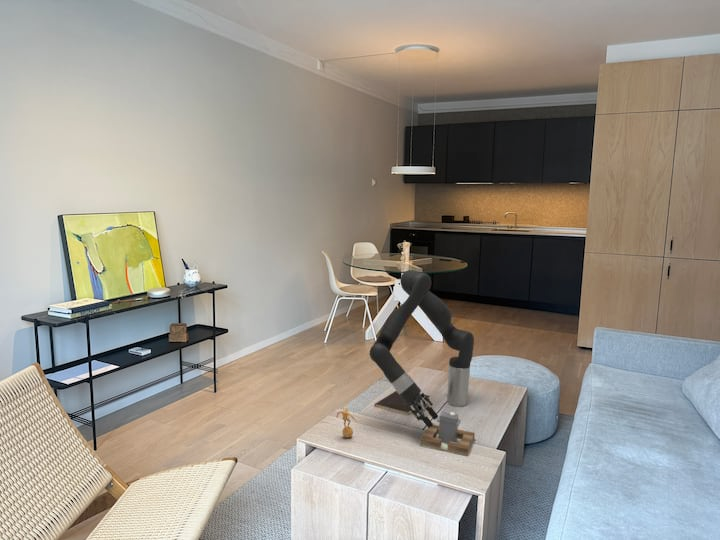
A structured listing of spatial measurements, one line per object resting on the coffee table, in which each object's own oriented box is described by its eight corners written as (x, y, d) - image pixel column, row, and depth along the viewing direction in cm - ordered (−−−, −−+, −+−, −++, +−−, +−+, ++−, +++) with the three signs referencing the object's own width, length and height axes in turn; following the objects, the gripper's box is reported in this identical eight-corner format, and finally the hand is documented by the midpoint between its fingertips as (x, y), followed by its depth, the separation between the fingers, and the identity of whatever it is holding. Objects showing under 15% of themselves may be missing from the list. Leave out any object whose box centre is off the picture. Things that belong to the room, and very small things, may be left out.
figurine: (359, 437, 191) (361, 406, 189) (352, 443, 185) (353, 412, 184) (340, 432, 194) (341, 402, 193) (332, 438, 189) (333, 407, 188)
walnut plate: (430, 430, 200) (430, 423, 200) (474, 439, 194) (474, 432, 193) (420, 445, 186) (420, 439, 186) (466, 456, 180) (467, 449, 180)
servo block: (438, 436, 193) (440, 408, 192) (459, 440, 190) (461, 412, 189) (435, 441, 189) (437, 412, 188) (457, 445, 186) (459, 416, 185)
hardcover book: (429, 400, 233) (430, 395, 233) (407, 416, 214) (407, 411, 213) (398, 393, 241) (398, 388, 241) (374, 408, 222) (374, 402, 222)
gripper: (407, 387, 186) (436, 423, 183) (418, 376, 199) (445, 410, 196) (393, 399, 189) (421, 435, 186) (404, 387, 202) (431, 420, 199)
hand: (433, 422), depth 191 cm, fingers open, 8 cm apart
